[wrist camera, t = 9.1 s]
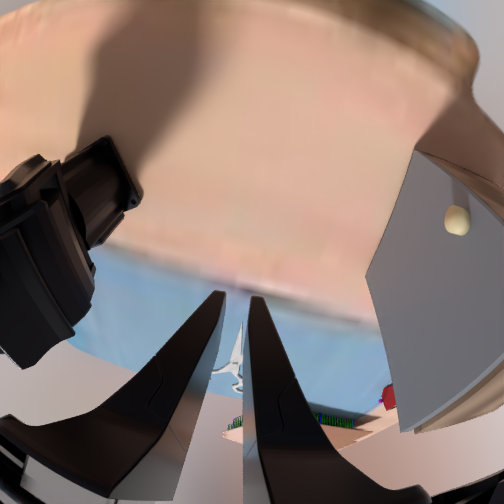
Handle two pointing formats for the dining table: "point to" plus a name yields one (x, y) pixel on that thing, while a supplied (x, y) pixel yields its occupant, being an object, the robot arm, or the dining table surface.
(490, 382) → the walnut box
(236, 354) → the scissors
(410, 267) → the flap
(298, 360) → the dining table surface
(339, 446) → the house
